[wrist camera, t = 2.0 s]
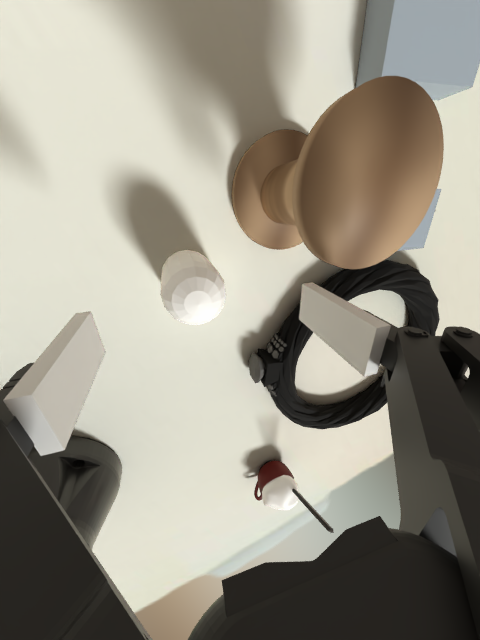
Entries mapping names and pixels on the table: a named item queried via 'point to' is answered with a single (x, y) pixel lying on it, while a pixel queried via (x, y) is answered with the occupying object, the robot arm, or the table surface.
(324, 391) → the table surface
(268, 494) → the cocoa
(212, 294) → the capsule
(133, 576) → the table surface
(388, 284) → the cable lock
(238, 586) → the robot arm
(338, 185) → the knob
